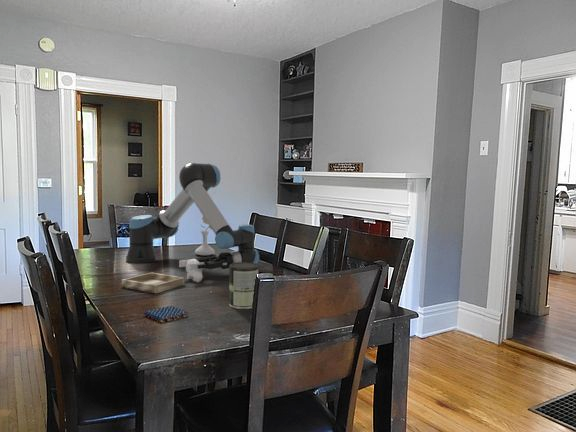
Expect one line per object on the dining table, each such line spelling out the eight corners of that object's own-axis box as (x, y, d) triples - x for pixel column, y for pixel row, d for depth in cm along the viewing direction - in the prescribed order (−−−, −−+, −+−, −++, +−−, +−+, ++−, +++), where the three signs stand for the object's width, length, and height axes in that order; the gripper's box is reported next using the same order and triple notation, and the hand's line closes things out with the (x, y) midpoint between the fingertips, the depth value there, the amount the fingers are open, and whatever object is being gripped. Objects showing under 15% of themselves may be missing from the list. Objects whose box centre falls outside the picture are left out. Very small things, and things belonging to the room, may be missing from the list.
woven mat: (190, 317, 138) (190, 311, 138) (160, 325, 130) (160, 318, 130) (171, 310, 145) (171, 304, 145) (142, 317, 137) (142, 311, 137)
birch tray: (121, 287, 172) (121, 279, 171) (151, 279, 186) (151, 272, 185) (155, 293, 163) (155, 285, 163) (184, 284, 178) (184, 277, 177)
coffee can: (222, 305, 151) (222, 264, 149) (243, 299, 159) (244, 261, 157) (243, 311, 144) (244, 269, 143) (264, 304, 152) (265, 265, 151)
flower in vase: (190, 255, 244) (191, 211, 241) (200, 252, 254) (200, 210, 252) (211, 257, 240) (212, 212, 238) (220, 254, 251) (221, 211, 249)
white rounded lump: (199, 257, 192) (207, 264, 181) (198, 275, 193) (206, 284, 183) (184, 258, 189) (191, 265, 178) (184, 276, 190) (191, 285, 180)
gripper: (242, 271, 192) (197, 278, 177) (216, 264, 207) (172, 270, 192) (243, 255, 191) (197, 260, 176) (216, 248, 207) (172, 253, 191)
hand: (184, 265), depth 184 cm, fingers closed on white rounded lump, 8 cm apart
